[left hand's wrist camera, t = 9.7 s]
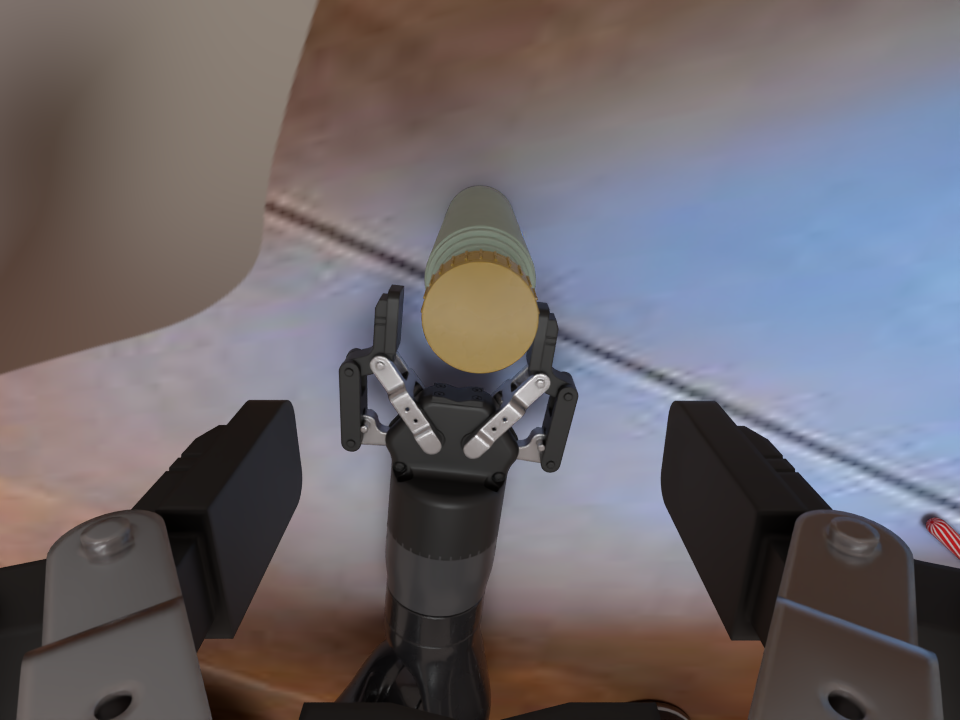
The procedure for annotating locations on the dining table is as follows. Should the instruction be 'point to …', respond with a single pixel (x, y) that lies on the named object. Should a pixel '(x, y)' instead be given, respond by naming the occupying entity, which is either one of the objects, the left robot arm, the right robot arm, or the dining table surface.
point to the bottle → (480, 231)
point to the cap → (480, 312)
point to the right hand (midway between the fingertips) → (469, 296)
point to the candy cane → (944, 535)
